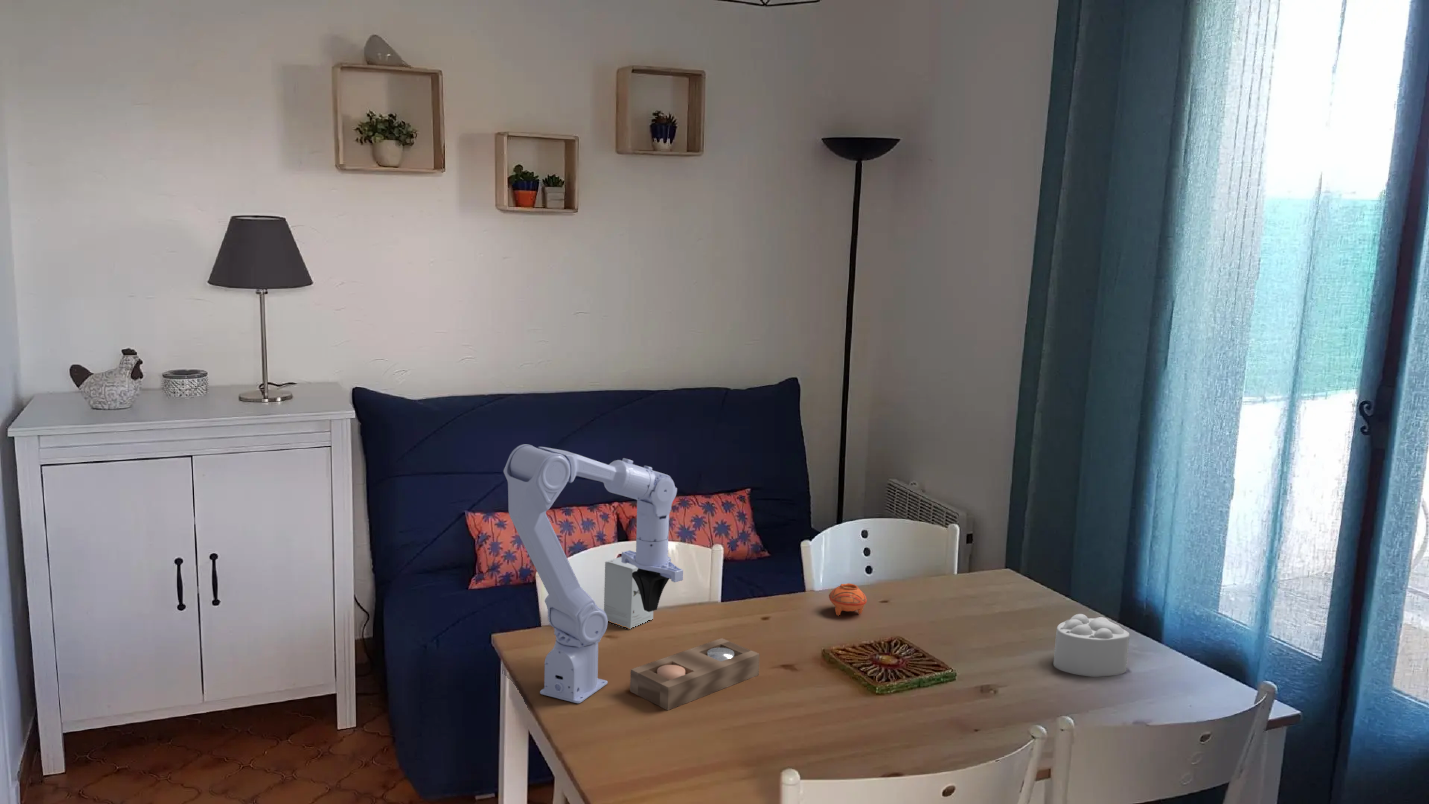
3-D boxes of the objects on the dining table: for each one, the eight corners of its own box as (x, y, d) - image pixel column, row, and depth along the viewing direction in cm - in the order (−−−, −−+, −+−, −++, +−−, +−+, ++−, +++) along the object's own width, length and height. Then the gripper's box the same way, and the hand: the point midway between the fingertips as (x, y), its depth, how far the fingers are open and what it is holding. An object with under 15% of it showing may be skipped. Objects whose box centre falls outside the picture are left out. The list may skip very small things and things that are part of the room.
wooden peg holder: (667, 710, 181) (668, 687, 181) (630, 691, 188) (630, 669, 187) (758, 674, 197) (759, 653, 196) (720, 658, 203) (721, 638, 203)
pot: (819, 607, 232) (827, 576, 231) (851, 612, 234) (859, 582, 234) (834, 619, 224) (843, 587, 224) (868, 624, 227) (876, 593, 226)
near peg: (669, 700, 185) (670, 678, 184) (650, 691, 188) (651, 669, 188) (690, 692, 188) (691, 671, 188) (671, 683, 192) (672, 662, 191)
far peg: (720, 681, 193) (720, 660, 193) (701, 672, 197) (701, 652, 196) (739, 674, 197) (739, 653, 196) (720, 665, 200) (720, 645, 199)
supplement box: (630, 630, 216) (631, 569, 214) (602, 621, 220) (603, 560, 218) (654, 620, 221) (656, 560, 219) (627, 611, 226) (628, 552, 224)
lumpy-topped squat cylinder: (1133, 673, 203) (1138, 629, 202) (1072, 679, 200) (1077, 634, 198) (1099, 651, 213) (1103, 609, 212) (1040, 657, 210) (1044, 614, 208)
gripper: (696, 542, 193) (694, 615, 196) (642, 524, 204) (640, 594, 206) (666, 549, 189) (664, 625, 191) (613, 531, 199) (611, 602, 201)
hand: (650, 609), depth 198 cm, fingers closed
